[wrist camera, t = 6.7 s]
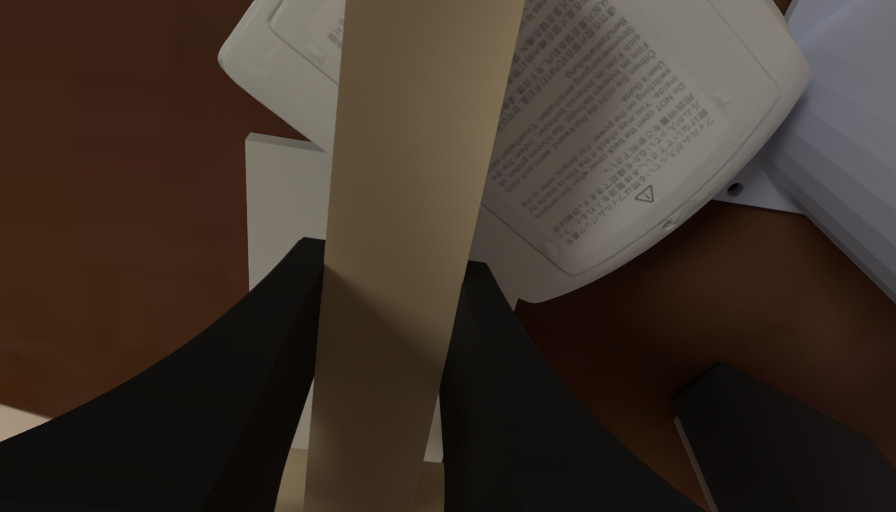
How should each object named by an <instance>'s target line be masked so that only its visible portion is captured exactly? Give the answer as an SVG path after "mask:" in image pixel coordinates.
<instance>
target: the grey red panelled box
mask: <svg viewBox="0 0 896 512" xmlns="http://www.w3.org/2000/svg"><path fill="white" fill-rule="evenodd" d="M673 406H674V408H675V411H676V413H677V415H678V416H676V417H675V418H674V422H675V425H676V428H677V430H678V432H679V435H680V437H681V440H682V442H683V445H684V447H685V449H686V452H687V454H688V457H689V459H690V461H691V464H692V466H693V469H694V471H695V474H696V476H697V478H698V481H699V483H700V486H701V488H702V491H703V493H704V495H705V498H706V500H707V503H708V505H709V507H710V509H711V511H712V512H896V472H895V471H894V469H893V468H892V467H891V465H890V464H889V463H888V461H887V460H886V458H885V457H884V456H883V454H882V453H881V452H880V450H879V449H878V448H877V447H876V445H875V444H874V443H873V442H871V441H870V440H868V439H867V438H865V437H863V436H861V435H859V434H857V433H855V432H853V431H852V430H850V429H848V428H846V427H844V426H842V425H840V424H838V423H836V422H835V421H833V420H831V419H829V418H827V417H825V416H823V415H821V414H819V413H817V412H816V411H814V410H812V409H810V408H808V407H806V406H804V405H802V404H800V403H798V402H797V401H795V400H793V399H791V398H789V397H787V396H785V395H783V394H781V393H780V392H778V391H776V390H774V389H772V388H770V387H768V386H766V385H764V384H762V383H761V382H759V381H757V380H755V379H753V378H751V377H749V376H747V375H745V374H743V373H742V372H740V371H738V370H736V369H734V368H732V367H730V366H728V365H726V364H724V363H719V364H717V365H716V366H715V367H713V368H712V369H711V370H710V371H708V372H707V373H706V374H705V375H703V376H702V377H701V378H699V379H698V380H697V381H696V382H694V383H693V384H692V385H691V386H689V387H688V388H687V389H686V390H684V391H683V392H682V393H681V394H679V395H678V396H677V397H676V398H675V399H674V400H673Z"/></svg>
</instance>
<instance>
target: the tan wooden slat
mask: <svg viewBox="0 0 896 512" xmlns="http://www.w3.org/2000/svg"><path fill="white" fill-rule="evenodd" d="M524 4H525V0H346V4H345V16H344V28H343V40H342V52H341V64H340V76H339V88H338V99H337V111H336V123H335V135H334V147H333V159H332V171H331V183H330V195H329V207H328V219H327V231H326V243H325V254H324V274H323V284H322V294H321V305H320V315H319V326H318V338H317V350H316V362H315V374H314V386H313V398H312V409H311V421H310V433H309V445H308V449H298V448H290V451H289V454H288V458H287V461H286V465H285V468H284V472H283V475H282V480H281V484H280V488H279V493H278V497H277V502H276V506H275V510H274V512H444V495H445V485H444V463H438V462H428V461H424V456H425V452H426V447H427V443H428V438H429V434H430V429H431V425H432V420H433V416H434V411H435V407H436V402H437V398H438V393H439V388H440V384H441V379H442V375H443V370H444V366H445V361H446V357H447V352H448V348H449V343H450V339H451V334H452V329H453V324H454V320H455V315H456V310H457V305H458V300H459V296H460V291H461V286H462V282H463V280H464V275H465V271H466V266H467V262H468V257H469V253H470V248H471V244H472V239H473V235H474V230H475V226H476V221H477V217H478V212H479V208H480V203H481V199H482V194H483V190H484V185H485V180H486V176H487V171H488V167H489V162H490V158H491V153H492V149H493V144H494V140H495V135H496V131H497V126H498V122H499V117H500V113H501V108H502V104H503V99H504V95H505V90H506V85H507V81H508V76H509V72H510V67H511V63H512V58H513V54H514V49H515V45H516V40H517V36H518V31H519V27H520V22H521V18H522V13H523V9H524Z"/></svg>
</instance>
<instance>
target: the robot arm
mask: <svg viewBox="0 0 896 512" xmlns="http://www.w3.org/2000/svg"><path fill="white" fill-rule="evenodd" d="M784 19H785V21H786V23H787V26H788V28H789V30H790V34H791V38H792V39H793V40H794V42H795V43H796V45H797V46H798V48H799V49H800V51H801V53H802V54H803V56H804V58H805V60H806V61H807V63H808V66H809V69H810V72H811V80H810V83H809V84H808V86H807V87H806V89H805V90H804V92H803V93H802V95H801V97H800V98H799V99H798V101H797V102H796V104H795V105H794V107H793V108H792V110H791V111H790V113H789V114H788V115H787V117H786V118H785V120H784V121H783V122H782V123H781V125H780V126H779V127H778V129H777V130H776V131H775V132H774V134H773V135H772V136H771V137H770V138H769V140H768V141H767V142H766V143H765V144H764V146H763V147H762V148H761V149H760V150H759V151H758V152H757V154H756V155H755V156H754V157H753V158H752V159H751V160H750V161H749V162H748V163H747V164H746V165H745V166H744V168H743V169H742V170H741V171H740V172H739V173H738V174H737V175H736V176H735V177H734V178H733V179H732V180H731V181H730V182H729V183H728V184H727V185H726V186H725V187H724V188H723V189H722V190H721V191H720V192H718V193H717V194H716V195H715V196H714V197H713V198H712V199H713V200H718V201H724V202H731V203H737V204H743V205H749V206H755V207H762V208H768V209H774V210H780V211H787V212H793V213H799V214H805V215H806V216H807V217H808V218H809V219H810V220H811V221H812V222H813V223H814V224H815V225H816V226H817V227H818V228H819V229H820V230H821V231H822V232H823V233H824V234H825V235H826V236H827V237H828V238H829V239H830V240H831V241H832V242H833V243H834V244H835V245H836V246H837V247H838V248H839V249H840V250H841V251H842V252H843V253H844V254H845V255H846V256H847V257H848V258H849V259H850V260H851V261H852V262H853V263H854V264H855V265H856V266H857V267H859V268H860V269H861V270H862V271H863V272H864V273H865V274H866V275H867V276H868V277H869V278H870V279H871V280H872V281H873V282H874V283H875V284H876V285H877V286H878V287H879V288H880V289H881V290H882V291H883V292H884V293H885V294H886V295H887V296H888V297H889V298H890V299H891V300H892V301H893V302H894V303H895V304H896V0H792V2H791V4H790V6H789V8H788V10H787V12H786V14H785V16H784ZM734 183H738V186H737V187H736V188H735V189H734V190H732V191H727V190H728V188H729V187H730V186H731V185H732V184H734ZM325 243H326V240H323V239H316V238H309V237H303V238H302V239H300V240H298V241H297V243H296V244H295V245H294V246H293V247H292V249H291V250H290V251H289V252H288V253H287V254H286V255H285V257H284V258H283V259H282V260H281V261H280V262H279V263H278V264H277V265H276V266H275V267H274V268H273V269H272V270H271V271H270V272H269V273H268V274H267V275H266V276H265V277H264V278H263V279H262V280H261V281H260V282H259V283H258V284H257V285H256V286H255V287H254V288H253V289H252V290H251V291H250V292H249V293H248V294H247V295H245V296H244V297H243V298H242V299H241V300H240V301H239V302H238V303H236V304H235V305H234V306H233V307H232V308H230V309H229V310H228V311H227V312H226V313H225V314H223V315H222V316H221V317H220V318H219V319H217V320H216V321H215V322H214V323H213V324H211V325H210V326H209V327H207V328H206V329H205V330H204V331H202V332H201V333H200V334H198V335H197V336H196V337H194V338H193V339H191V340H190V341H189V342H187V343H186V344H184V345H183V346H182V347H180V348H179V349H177V350H176V351H174V352H173V353H171V354H170V355H168V356H167V357H165V358H164V359H162V360H160V361H159V362H157V363H156V364H154V365H153V366H151V367H149V368H148V369H146V370H145V371H143V372H141V373H140V374H138V375H136V376H135V377H133V378H131V379H130V380H128V381H126V382H125V383H123V384H121V385H119V386H118V387H116V388H114V389H112V390H110V391H108V392H106V393H104V394H102V395H101V396H99V397H97V398H95V399H93V400H91V401H89V402H87V403H85V404H83V405H81V406H79V407H77V408H75V409H73V410H71V411H69V412H67V413H65V414H63V415H61V416H59V417H56V418H54V419H52V420H50V421H48V422H46V423H44V424H41V425H39V426H36V427H34V428H32V429H30V430H27V431H25V432H23V433H20V434H18V435H16V436H13V437H11V438H8V439H6V440H4V441H1V442H0V512H274V510H275V506H276V502H277V497H278V493H279V488H280V484H281V480H282V475H283V472H284V468H285V465H286V461H287V458H288V454H289V451H290V448H291V445H292V442H293V439H294V436H295V433H296V430H297V427H298V424H299V421H300V418H301V415H302V412H303V409H304V406H305V403H306V400H307V397H308V394H309V391H310V388H311V385H312V382H313V379H314V374H315V362H316V350H317V338H318V326H319V315H320V305H321V294H322V284H323V274H324V254H325ZM439 402H440V417H441V431H442V446H443V460H444V485H445V495H444V512H706V511H705V510H704V509H702V508H701V507H700V506H698V505H697V504H696V503H694V502H693V501H692V500H690V499H689V498H687V497H686V496H685V495H683V494H682V493H681V492H679V491H678V490H677V489H675V488H674V487H673V486H671V485H670V484H669V483H668V482H666V481H665V480H664V479H663V478H662V477H660V476H659V475H658V474H657V473H656V472H654V471H653V470H652V469H651V468H650V467H648V466H647V465H646V464H645V463H644V462H642V461H641V460H640V459H639V458H638V457H637V456H635V455H634V454H633V453H632V452H631V451H630V450H629V449H628V448H627V447H625V446H624V445H623V444H622V443H621V442H620V441H619V440H618V439H617V438H616V437H615V436H614V435H613V434H612V433H611V432H610V431H609V430H608V429H607V428H606V427H604V426H603V425H602V424H601V423H600V422H599V421H598V420H597V419H596V418H595V417H594V416H593V415H592V414H591V413H590V411H589V410H588V409H587V408H586V407H585V406H584V405H583V404H582V403H581V402H580V401H579V400H578V398H577V397H576V396H575V395H574V394H573V393H572V392H571V390H570V389H569V388H568V387H567V386H566V385H565V384H564V382H563V381H562V380H561V379H560V378H559V376H558V375H557V374H556V373H555V371H554V370H553V369H552V367H551V366H550V365H549V363H548V362H547V361H546V359H545V358H544V357H543V355H542V354H541V352H540V351H539V350H538V348H537V347H536V345H535V344H534V342H533V341H532V339H531V338H530V336H529V335H528V333H527V332H526V330H525V329H524V327H523V325H522V324H521V322H520V321H519V319H518V318H517V316H516V314H515V313H514V311H513V309H512V308H511V306H510V304H509V303H508V301H507V299H506V297H505V296H504V294H503V292H502V290H501V288H500V287H499V285H498V283H497V281H496V279H495V277H494V275H493V273H492V272H491V270H490V268H489V266H488V265H487V264H486V262H479V261H472V260H468V262H467V266H466V271H465V275H464V280H463V282H462V286H461V291H460V296H459V300H458V305H457V310H456V315H455V320H454V324H453V329H452V334H451V339H450V343H449V348H448V352H447V357H446V361H445V366H444V370H443V375H442V379H441V384H440V388H439Z"/></svg>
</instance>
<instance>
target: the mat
mask: <svg viewBox="0 0 896 512" xmlns="http://www.w3.org/2000/svg"><path fill="white" fill-rule="evenodd" d="M245 149H246V185H247V220H248V255H249V290H250V291H251V290H252V289H253V288H254V287H255V286H256V285H257V284H258V283H259V282H260V281H261V280H262V279H263V278H264V277H265V276H266V275H267V274H268V273H269V272H270V271H271V270H272V269H273V268H274V267H275V266H276V265H277V264H278V263H279V262H280V261H281V260H282V259H283V258H284V257H285V255H286V254H287V253H288V252H289V251H290V250H291V249H292V247H293V246H294V245H295V244H296V243H297V241H298V240H300V239H302V238H303V237H309V238H316V239H323V240H326V231H327V219H328V207H329V195H330V183H331V171H332V159H333V157H332V156H331V155H329V154H328V153H327V152H325V151H324V150H323V149H321V148H320V147H319V146H317V145H316V144H315V143H313V142H308V141H301V140H295V139H289V138H283V137H276V136H270V135H264V134H257V133H251V132H250V134H249V135H248V137H247V138H246V140H245ZM499 287H500V288H501V290H502V292H503V294H504V296H505V297H506V299H507V301H508V303H509V304H510V306H511V308H512V309H513V311H514V309H515V306H516V303H517V300H518V297H516V296H514V295H512V294H510V293H509V292H507V291H506V290H505V289H503V288H502V287H501V286H499Z"/></svg>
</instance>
